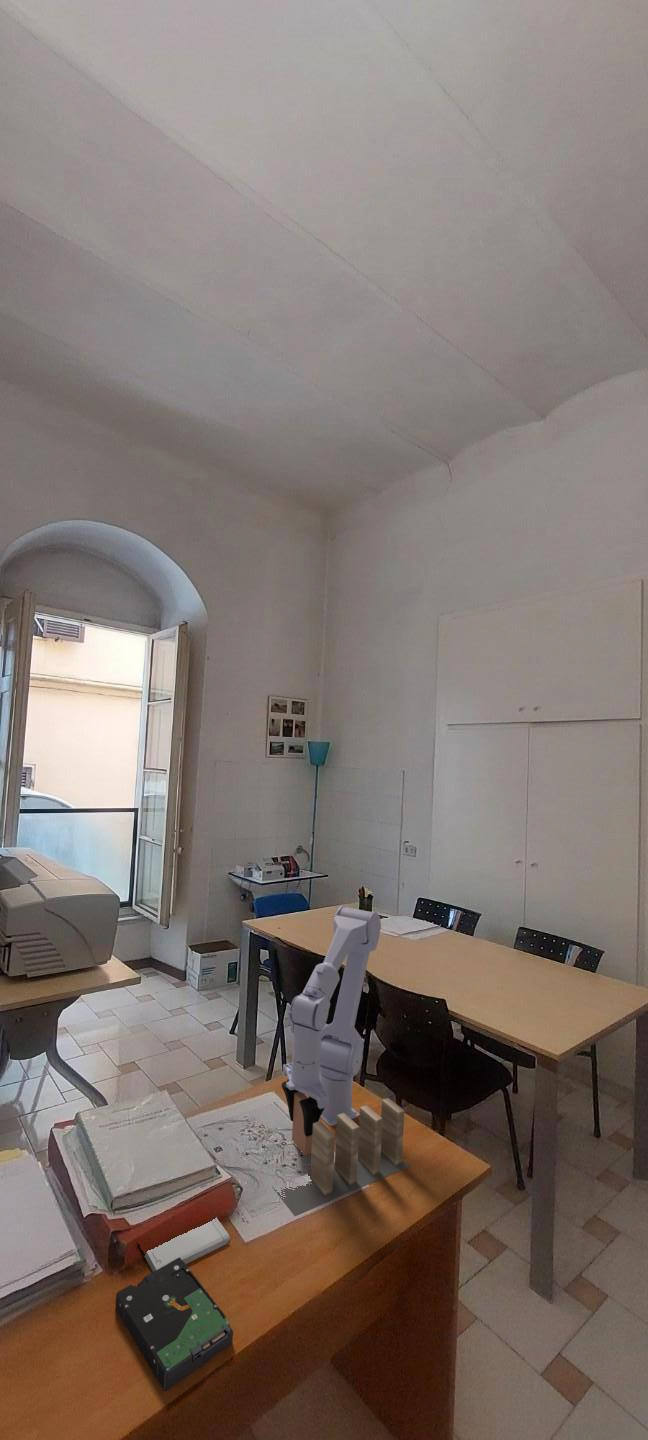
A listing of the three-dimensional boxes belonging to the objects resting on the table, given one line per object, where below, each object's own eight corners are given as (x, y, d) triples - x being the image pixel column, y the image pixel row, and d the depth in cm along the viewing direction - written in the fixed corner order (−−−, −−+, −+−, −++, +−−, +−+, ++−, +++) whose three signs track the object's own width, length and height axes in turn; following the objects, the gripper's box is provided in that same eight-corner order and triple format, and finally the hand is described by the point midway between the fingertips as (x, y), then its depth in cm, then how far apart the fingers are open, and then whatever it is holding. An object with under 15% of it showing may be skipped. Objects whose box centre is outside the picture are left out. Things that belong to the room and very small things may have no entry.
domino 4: (373, 1175, 117) (375, 1120, 117) (357, 1159, 121) (360, 1107, 121) (379, 1172, 118) (382, 1118, 118) (364, 1157, 122) (366, 1105, 122)
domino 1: (304, 1158, 121) (307, 1105, 122) (291, 1143, 125) (294, 1093, 126) (311, 1155, 122) (314, 1103, 123) (298, 1141, 126) (301, 1091, 127)
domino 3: (349, 1185, 114) (352, 1129, 114) (334, 1168, 118) (337, 1115, 118) (356, 1182, 115) (359, 1126, 115) (341, 1166, 119) (343, 1112, 119)
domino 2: (324, 1195, 111) (327, 1138, 111) (310, 1178, 115) (313, 1123, 115) (332, 1192, 112) (335, 1135, 112) (317, 1175, 116) (320, 1120, 116)
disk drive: (112, 1314, 87) (164, 1397, 76) (114, 1293, 87) (166, 1373, 76) (178, 1274, 94) (234, 1345, 83) (179, 1255, 94) (235, 1323, 83)
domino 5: (395, 1165, 120) (398, 1112, 120) (379, 1151, 124) (381, 1099, 124) (401, 1163, 121) (404, 1110, 121) (385, 1148, 125) (388, 1097, 125)
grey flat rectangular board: (272, 1189, 112) (272, 1186, 112) (383, 1145, 126) (383, 1143, 126) (294, 1218, 106) (294, 1215, 106) (409, 1168, 120) (409, 1166, 120)
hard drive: (156, 1271, 92) (230, 1235, 100) (137, 1235, 99) (207, 1203, 106) (156, 1283, 92) (229, 1246, 100) (136, 1245, 99) (206, 1213, 106)
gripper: (271, 1046, 129) (267, 1113, 128) (308, 1079, 116) (304, 1153, 116) (300, 1039, 132) (297, 1104, 132) (339, 1070, 120) (335, 1142, 120)
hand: (302, 1126), depth 124 cm, fingers closed on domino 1, 5 cm apart
